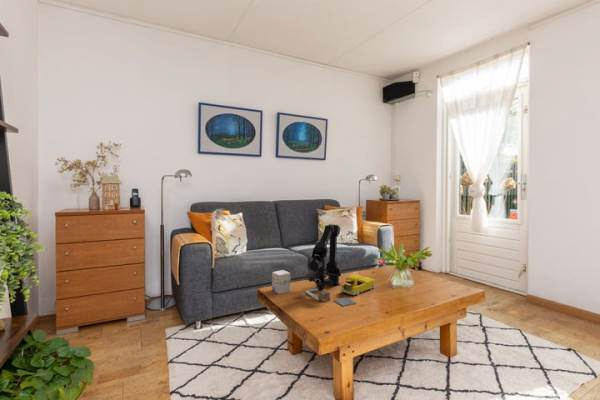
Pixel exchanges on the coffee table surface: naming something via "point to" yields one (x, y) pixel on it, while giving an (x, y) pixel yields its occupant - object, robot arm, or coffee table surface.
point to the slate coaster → (345, 301)
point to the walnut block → (324, 295)
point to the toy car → (357, 284)
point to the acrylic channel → (312, 293)
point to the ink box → (281, 281)
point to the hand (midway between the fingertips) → (319, 293)
